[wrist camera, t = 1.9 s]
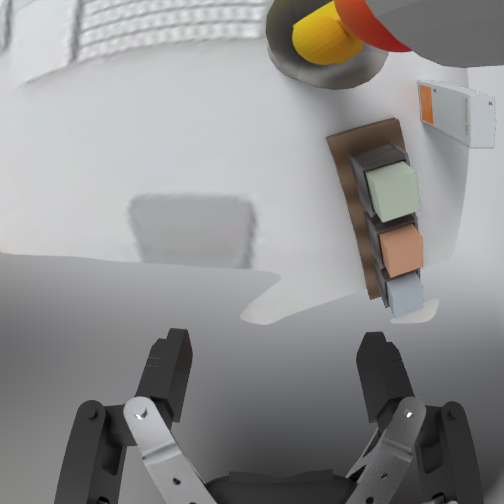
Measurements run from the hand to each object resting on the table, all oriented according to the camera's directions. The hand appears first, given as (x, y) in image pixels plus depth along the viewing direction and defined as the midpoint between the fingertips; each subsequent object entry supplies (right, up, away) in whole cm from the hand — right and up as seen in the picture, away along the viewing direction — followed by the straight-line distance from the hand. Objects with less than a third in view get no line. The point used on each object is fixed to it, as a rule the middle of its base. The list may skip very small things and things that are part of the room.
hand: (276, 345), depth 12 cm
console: (+19, +9, +28) cm, 35 cm away
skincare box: (+23, +24, +16) cm, 37 cm away
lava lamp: (+5, +28, +14) cm, 32 cm away
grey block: (+22, 0, +30) cm, 37 cm away
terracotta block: (+19, +7, +25) cm, 32 cm away
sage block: (+15, +14, +20) cm, 29 cm away
